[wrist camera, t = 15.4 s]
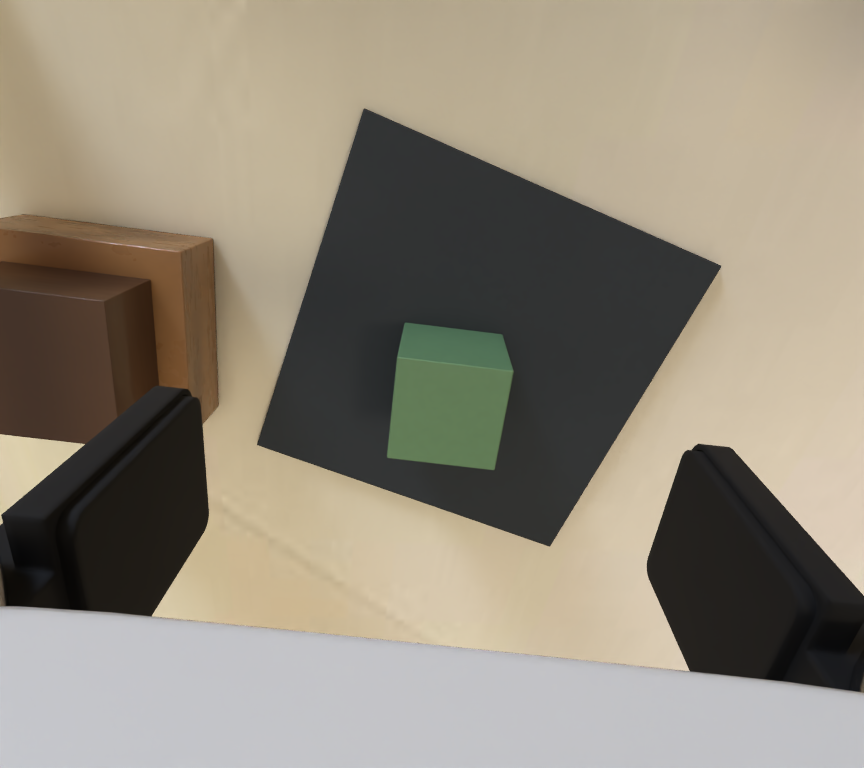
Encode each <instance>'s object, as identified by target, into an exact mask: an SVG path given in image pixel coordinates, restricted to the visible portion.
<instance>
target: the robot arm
mask: <svg viewBox="0 0 864 768" xmlns="http://www.w3.org/2000/svg"><path fill="white" fill-rule="evenodd" d="M1 516H2V519H3V524H1V525H0V768H864V596H863V594H862V593H861V592H860V591H859V590H858V589H857V588H856V587H855V586H854V584H853V583H852V582H851V581H850V580H849V579H848V578H847V577H846V575H845V574H844V573H843V572H842V571H841V570H840V569H839V568H838V567H837V565H836V564H835V563H834V562H833V561H832V560H831V559H830V558H829V556H828V555H827V554H826V553H825V552H824V551H823V550H822V549H821V548H820V546H819V545H818V544H817V543H816V542H815V541H814V540H813V539H812V537H811V536H810V535H809V534H808V533H807V532H806V531H805V530H804V529H803V527H802V526H801V525H800V524H799V523H798V522H797V521H796V520H795V518H794V517H793V516H792V515H791V514H790V513H789V512H788V511H787V510H786V508H785V507H784V506H783V505H782V504H781V503H780V502H779V501H778V499H777V498H776V497H775V496H774V495H773V494H772V493H771V492H770V491H769V489H768V488H767V487H766V486H765V485H764V484H763V483H762V482H761V480H760V479H759V478H758V477H757V476H756V475H755V474H754V473H753V472H752V470H751V469H750V468H749V467H748V466H747V465H746V464H745V463H744V461H743V460H742V459H741V458H740V457H739V456H738V455H737V454H736V453H735V451H734V450H733V449H731V448H730V447H722V446H713V445H704V444H698V445H696V446H695V447H694V448H693V449H692V451H691V450H687V451H685V452H684V454H683V456H682V458H681V461H680V464H679V467H678V470H677V473H676V476H675V479H674V482H673V485H672V488H671V491H670V494H669V497H668V500H667V503H666V506H665V509H664V512H663V515H662V518H661V521H660V524H659V527H658V530H657V533H656V536H655V539H654V542H653V545H652V548H651V550H650V553H649V556H648V560H647V573H648V577H649V580H650V582H651V585H652V587H653V589H654V591H655V594H656V596H657V598H658V600H659V603H660V605H661V607H662V609H663V612H664V614H665V616H666V618H667V621H668V623H669V625H670V627H671V630H672V632H673V634H674V636H675V639H676V641H677V643H678V645H679V648H680V650H681V652H682V654H683V657H684V659H685V661H686V663H687V666H688V668H689V670H690V671H681V670H672V669H663V668H653V667H644V666H635V665H626V664H616V663H607V662H597V661H587V660H577V659H568V658H558V657H548V656H538V655H528V654H519V653H509V652H499V651H489V650H480V649H470V648H460V647H450V646H440V645H431V644H421V643H411V642H402V641H392V640H382V639H373V638H363V637H353V636H344V635H334V634H324V633H315V632H305V631H295V630H286V629H275V628H265V627H255V626H244V625H234V624H224V623H214V622H203V621H193V620H183V619H173V618H162V617H152V614H153V613H154V611H155V609H156V608H157V606H158V605H159V603H160V601H161V600H162V598H163V597H164V595H165V593H166V592H167V590H168V589H169V587H170V585H171V584H172V582H173V581H174V579H175V578H176V576H177V574H178V573H179V571H180V570H181V568H182V566H183V565H184V563H185V562H186V560H187V558H188V557H189V555H190V554H191V552H192V550H193V549H194V547H195V546H196V544H197V542H198V541H199V539H200V538H201V536H202V534H203V533H204V531H205V529H206V526H207V522H208V517H209V508H208V494H207V481H206V467H205V454H204V440H203V427H202V413H201V403H200V400H199V399H198V398H197V397H192V394H191V392H190V391H189V390H188V389H184V388H175V387H165V386H155V387H153V388H152V389H151V390H149V391H148V392H147V393H146V394H145V395H144V396H142V397H141V398H140V399H139V400H138V401H136V402H135V403H134V404H133V405H132V406H130V407H129V408H128V409H127V410H126V411H124V412H123V413H122V414H121V415H120V416H119V417H117V418H116V419H115V420H114V421H113V422H111V423H110V424H109V425H108V426H107V427H105V428H104V429H103V430H102V431H101V432H99V433H98V434H97V435H96V436H95V437H94V438H92V439H91V440H90V441H89V442H88V443H86V444H85V445H84V446H83V447H82V448H80V449H79V450H78V451H77V452H76V453H75V454H73V455H72V456H71V457H70V458H69V459H67V460H66V461H65V462H64V463H63V464H61V465H60V466H59V467H58V468H57V469H55V470H54V471H53V472H52V473H51V474H50V475H48V476H47V477H46V478H45V479H44V480H42V481H41V482H40V483H39V484H38V485H36V486H35V487H34V488H33V489H32V490H31V491H29V492H28V493H27V494H26V495H25V496H23V497H22V498H21V499H20V500H19V501H17V502H16V503H15V504H14V505H13V506H11V507H10V508H9V509H8V510H7V511H6V512H4V513H3V514H2V515H1Z"/></svg>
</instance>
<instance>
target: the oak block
mask: <svg viewBox="0 0 864 768" xmlns="http://www.w3.org/2000/svg"><path fill="white" fill-rule="evenodd" d="M1 261H5V262H13V263H21V264H29V265H38V266H46V267H54V268H62V269H70V270H78V271H86V272H94V273H102V274H110V275H118V276H126V277H134V278H142V279H150V280H151V290H152V303H153V316H154V328H155V341H156V354H157V366H158V379H159V386H165V387H175V388H184V389H188V390H189V391H190V392H191V394H192V397H197V398H198V399H199V400H200V403H201V413H202V425H203V423H204V422H205V421H206V420H207V419H208V418H209V416H210V415H211V414H212V413H213V412H214V411H215V409H216V408H217V407H218V377H217V347H216V317H215V287H214V257H213V239H212V238H205V237H197V236H189V235H181V234H173V233H165V232H158V231H150V230H142V229H134V228H126V227H118V226H110V225H102V224H94V223H87V222H79V221H71V220H63V219H55V218H47V217H39V216H31V215H17V216H12V217H6V218H0V262H1Z"/></svg>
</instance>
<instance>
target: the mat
mask: <svg viewBox="0 0 864 768" xmlns="http://www.w3.org/2000/svg"><path fill="white" fill-rule="evenodd" d="M720 268H721V266H720V265H718V264H716V263H713V262H711V261H709V260H707V259H704V258H702V257H700V256H698V255H695V254H693V253H691V252H689V251H686V250H684V249H682V248H679V247H677V246H675V245H673V244H670V243H668V242H666V241H664V240H661V239H659V238H657V237H655V236H652V235H650V234H648V233H645V232H643V231H641V230H639V229H636V228H634V227H632V226H630V225H627V224H625V223H623V222H621V221H618V220H616V219H614V218H611V217H609V216H607V215H605V214H602V213H600V212H598V211H596V210H593V209H591V208H589V207H587V206H584V205H582V204H580V203H578V202H575V201H573V200H571V199H568V198H566V197H564V196H562V195H559V194H557V193H555V192H553V191H550V190H548V189H546V188H544V187H541V186H539V185H537V184H534V183H532V182H530V181H528V180H525V179H523V178H521V177H519V176H516V175H514V174H512V173H510V172H507V171H505V170H503V169H500V168H498V167H496V166H494V165H491V164H489V163H487V162H485V161H482V160H480V159H478V158H476V157H473V156H471V155H469V154H466V153H464V152H462V151H460V150H457V149H455V148H453V147H451V146H448V145H446V144H444V143H442V142H439V141H437V140H435V139H432V138H430V137H428V136H426V135H423V134H421V133H419V132H417V131H414V130H412V129H410V128H408V127H405V126H403V125H401V124H398V123H396V122H394V121H392V120H389V119H387V118H385V117H383V116H380V115H378V114H376V113H374V112H371V111H369V110H367V109H364V110H363V114H362V117H361V120H360V123H359V126H358V129H357V132H356V136H355V139H354V142H353V145H352V148H351V151H350V154H349V158H348V161H347V164H346V167H345V170H344V173H343V176H342V180H341V183H340V186H339V189H338V192H337V195H336V198H335V202H334V205H333V208H332V211H331V214H330V217H329V220H328V224H327V227H326V230H325V233H324V236H323V239H322V242H321V246H320V249H319V252H318V255H317V258H316V261H315V264H314V268H313V271H312V274H311V277H310V280H309V283H308V286H307V290H306V293H305V296H304V299H303V302H302V305H301V308H300V312H299V315H298V318H297V321H296V324H295V327H294V330H293V334H292V337H291V340H290V343H289V346H288V349H287V352H286V356H285V359H284V362H283V365H282V368H281V371H280V374H279V378H278V381H277V384H276V387H275V390H274V393H273V396H272V400H271V403H270V406H269V409H268V412H267V415H266V418H265V422H264V425H263V428H262V431H261V434H260V437H259V440H258V444H257V445H259V446H262V447H265V448H268V449H270V450H273V451H276V452H279V453H282V454H285V455H288V456H291V457H293V458H296V459H299V460H302V461H305V462H308V463H311V464H314V465H316V466H319V467H322V468H325V469H328V470H331V471H334V472H337V473H340V474H342V475H345V476H348V477H351V478H354V479H357V480H360V481H363V482H365V483H368V484H371V485H374V486H377V487H380V488H383V489H386V490H388V491H391V492H394V493H397V494H400V495H403V496H406V497H409V498H412V499H414V500H417V501H420V502H423V503H426V504H429V505H432V506H435V507H437V508H440V509H443V510H446V511H449V512H452V513H455V514H458V515H460V516H463V517H466V518H469V519H472V520H475V521H478V522H481V523H484V524H486V525H489V526H492V527H495V528H498V529H501V530H504V531H507V532H509V533H512V534H515V535H518V536H521V537H524V538H527V539H530V540H532V541H535V542H538V543H541V544H544V545H547V546H550V545H551V544H552V542H553V540H554V539H555V537H556V536H557V534H558V532H559V531H560V529H561V527H562V526H563V524H564V522H565V521H566V519H567V518H568V516H569V514H570V513H571V511H572V509H573V508H574V506H575V505H576V503H577V501H578V500H579V498H580V496H581V495H582V493H583V492H584V490H585V488H586V487H587V485H588V483H589V482H590V480H591V478H592V477H593V475H594V474H595V472H596V470H597V469H598V467H599V465H600V464H601V462H602V461H603V459H604V457H605V456H606V454H607V452H608V451H609V449H610V447H611V446H612V444H613V443H614V441H615V439H616V438H617V436H618V434H619V433H620V431H621V430H622V428H623V426H624V425H625V423H626V421H627V420H628V418H629V416H630V415H631V413H632V412H633V410H634V408H635V407H636V405H637V403H638V402H639V400H640V399H641V397H642V395H643V394H644V392H645V390H646V389H647V387H648V386H649V384H650V382H651V381H652V379H653V377H654V376H655V374H656V372H657V371H658V369H659V368H660V366H661V364H662V363H663V361H664V359H665V358H666V356H667V355H668V353H669V351H670V350H671V348H672V346H673V345H674V343H675V341H676V340H677V338H678V337H679V335H680V333H681V332H682V330H683V328H684V327H685V325H686V324H687V322H688V320H689V319H690V317H691V315H692V314H693V312H694V310H695V309H696V307H697V306H698V304H699V302H700V301H701V299H702V297H703V296H704V294H705V293H706V291H707V289H708V288H709V286H710V284H711V283H712V281H713V279H714V278H715V276H716V275H717V273H718V271H719V270H720ZM405 323H414V324H422V325H430V326H438V327H446V328H454V329H463V330H471V331H479V332H487V333H495V334H502V335H503V338H504V342H505V345H506V348H507V351H508V355H509V358H510V361H511V365H512V368H513V371H514V373H513V378H512V383H511V388H510V393H509V399H508V404H507V409H506V414H505V419H504V424H503V429H502V435H501V440H500V445H499V450H498V455H497V460H496V465H495V469H494V470H488V469H479V468H470V467H462V466H453V465H444V464H436V463H427V462H418V461H409V460H401V459H392V458H387V450H388V440H389V431H390V421H391V411H392V402H393V392H394V382H395V372H396V363H397V356H398V351H399V346H400V342H401V337H402V333H403V328H404V324H405Z"/></svg>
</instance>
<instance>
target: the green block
mask: <svg viewBox="0 0 864 768" xmlns="http://www.w3.org/2000/svg"><path fill="white" fill-rule="evenodd" d="M513 373H514V371H513V368H512V365H511V361H510V358H509V355H508V351H507V348H506V345H505V342H504V338H503V335H502V334H495V333H487V332H479V331H471V330H463V329H454V328H446V327H438V326H430V325H422V324H414V323H405V324H404V328H403V333H402V337H401V342H400V346H399V351H398V356H397V363H396V372H395V382H394V392H393V402H392V411H391V421H390V431H389V440H388V450H387V458H392V459H401V460H409V461H418V462H427V463H436V464H444V465H453V466H462V467H470V468H479V469H488V470H494V469H495V465H496V460H497V455H498V450H499V445H500V440H501V435H502V429H503V424H504V419H505V414H506V409H507V404H508V399H509V393H510V388H511V383H512V378H513Z"/></svg>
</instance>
